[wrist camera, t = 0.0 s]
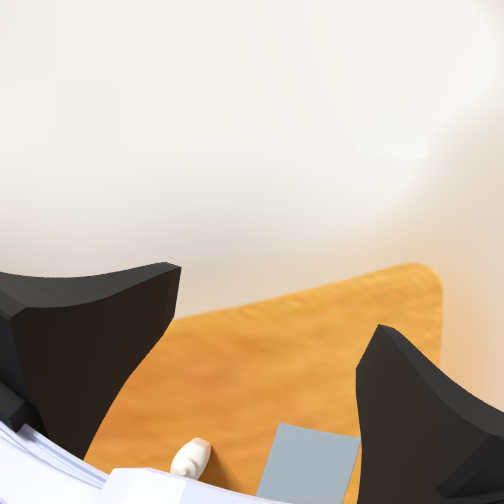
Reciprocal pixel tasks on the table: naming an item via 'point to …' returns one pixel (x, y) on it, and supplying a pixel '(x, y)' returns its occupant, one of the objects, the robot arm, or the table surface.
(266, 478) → the mat
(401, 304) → the table surface
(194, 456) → the eye dropper bottle
